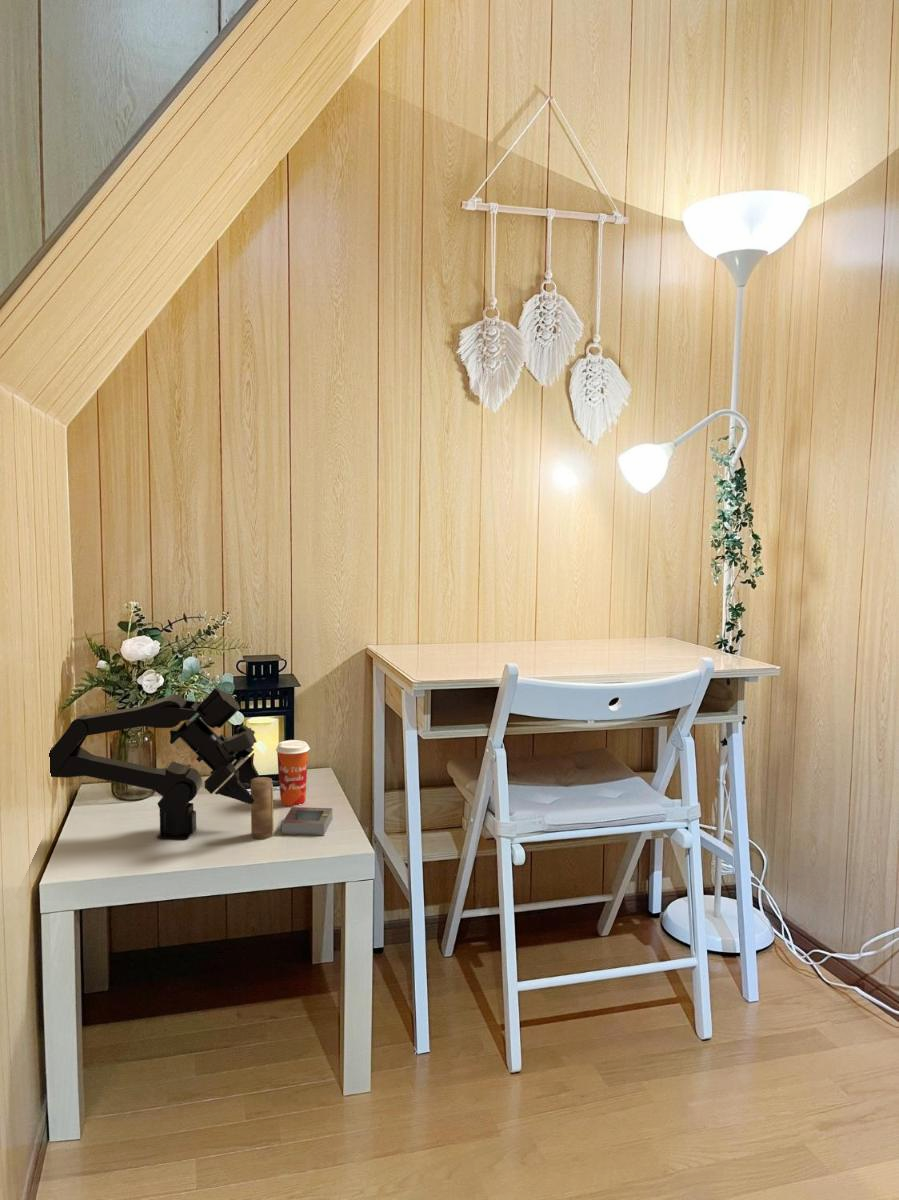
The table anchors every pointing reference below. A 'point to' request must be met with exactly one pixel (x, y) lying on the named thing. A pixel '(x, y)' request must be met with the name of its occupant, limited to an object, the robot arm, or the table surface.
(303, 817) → the grey square socket base
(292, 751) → the paper cup
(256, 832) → the walnut peg
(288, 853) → the table surface
